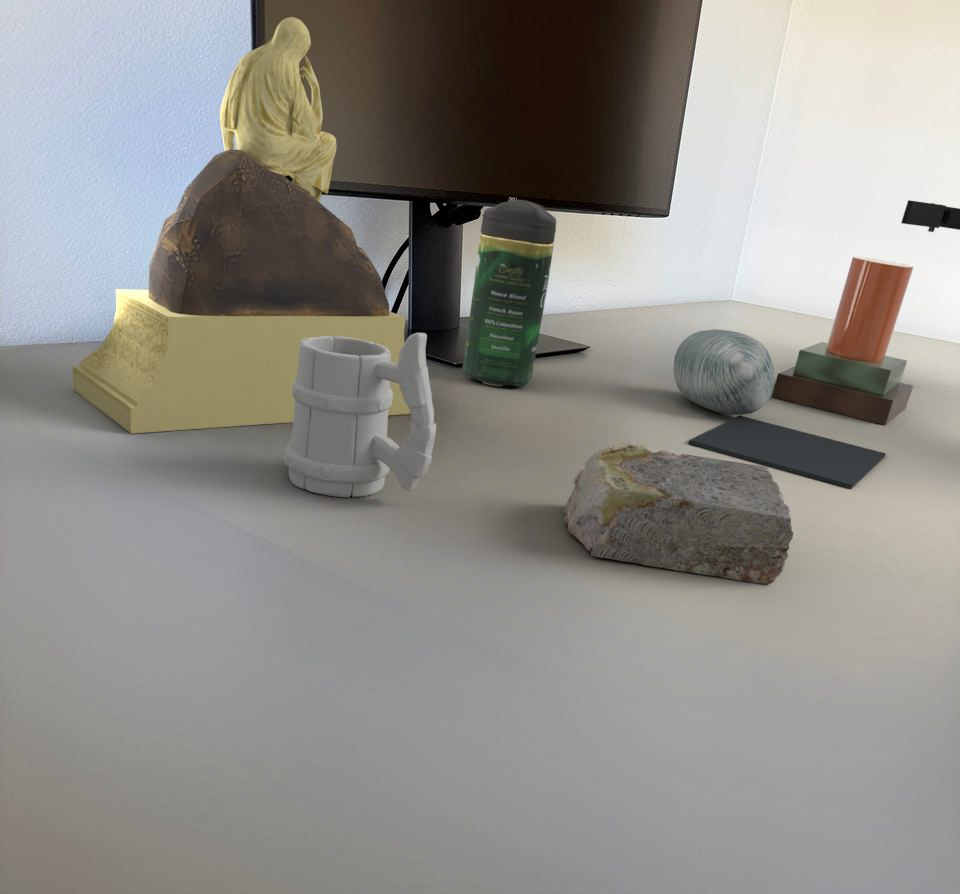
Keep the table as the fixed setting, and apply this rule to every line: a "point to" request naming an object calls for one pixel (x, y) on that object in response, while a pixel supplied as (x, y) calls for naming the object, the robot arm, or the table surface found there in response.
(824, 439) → the mat
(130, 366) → the hooded thinker statue
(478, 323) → the coffee jar
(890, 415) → the stack
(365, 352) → the mug
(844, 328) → the canister
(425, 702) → the table surface
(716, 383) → the grey streaked ovoid
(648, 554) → the geological specimen
